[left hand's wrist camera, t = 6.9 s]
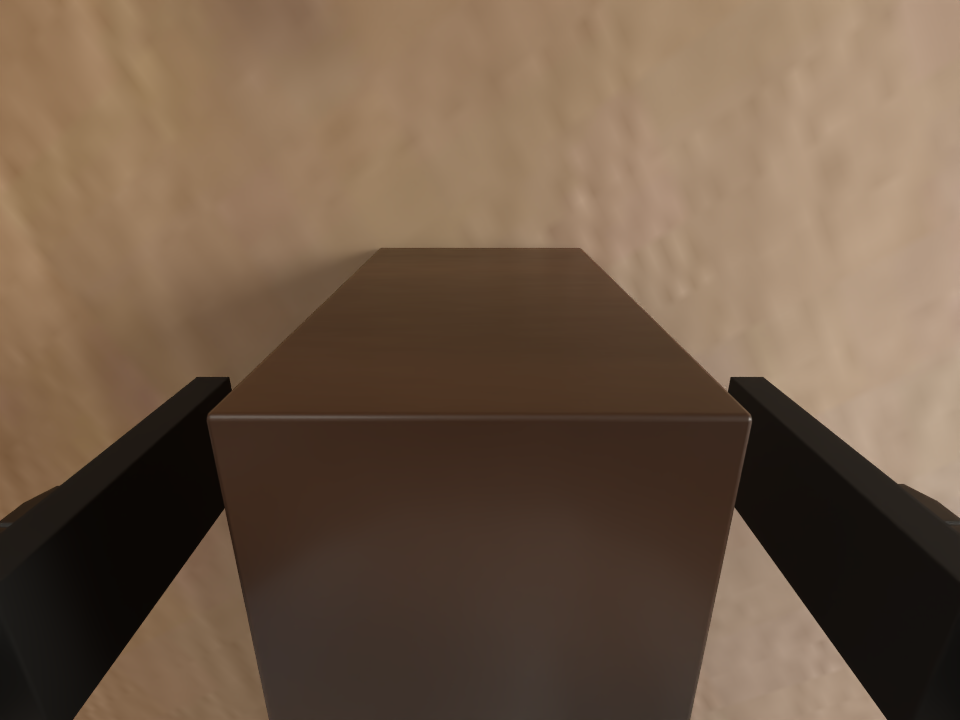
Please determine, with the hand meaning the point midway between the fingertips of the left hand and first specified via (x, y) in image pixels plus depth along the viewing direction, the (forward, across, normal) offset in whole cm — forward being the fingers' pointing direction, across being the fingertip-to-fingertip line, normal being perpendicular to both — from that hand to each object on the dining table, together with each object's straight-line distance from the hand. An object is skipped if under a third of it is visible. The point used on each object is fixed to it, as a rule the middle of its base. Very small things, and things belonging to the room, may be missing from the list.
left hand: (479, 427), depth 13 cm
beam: (+2, 0, -11) cm, 11 cm away
